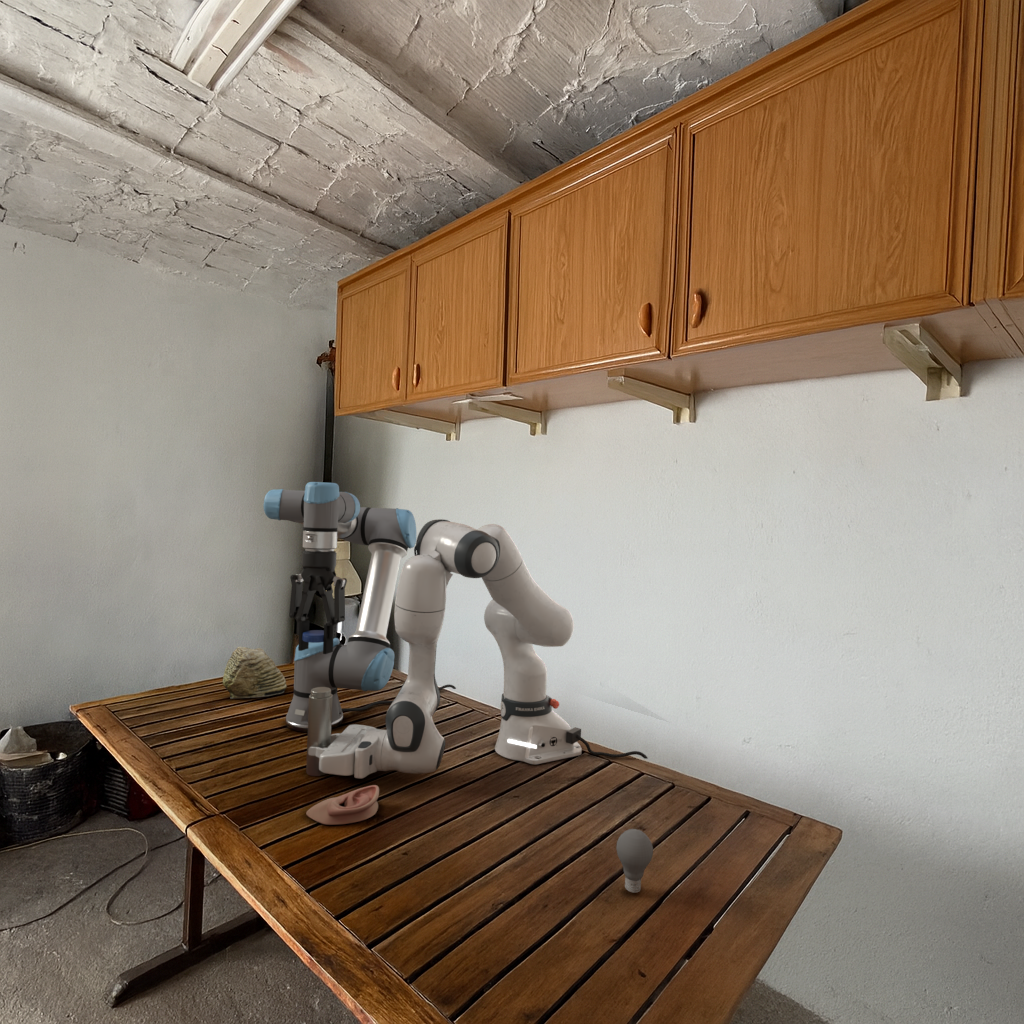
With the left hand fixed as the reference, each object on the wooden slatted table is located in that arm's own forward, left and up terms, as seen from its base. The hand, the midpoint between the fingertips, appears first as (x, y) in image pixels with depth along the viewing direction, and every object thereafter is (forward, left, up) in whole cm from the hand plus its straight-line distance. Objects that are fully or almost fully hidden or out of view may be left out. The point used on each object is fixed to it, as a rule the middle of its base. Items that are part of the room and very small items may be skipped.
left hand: (315, 650), depth 144 cm
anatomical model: (+6, +20, -28) cm, 35 cm away
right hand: (-1, 0, -22) cm, 22 cm away
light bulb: (-11, +76, -28) cm, 82 cm away
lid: (0, 0, +4) cm, 4 cm away
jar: (-2, 0, -28) cm, 28 cm away
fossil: (-20, -60, -28) cm, 69 cm away
